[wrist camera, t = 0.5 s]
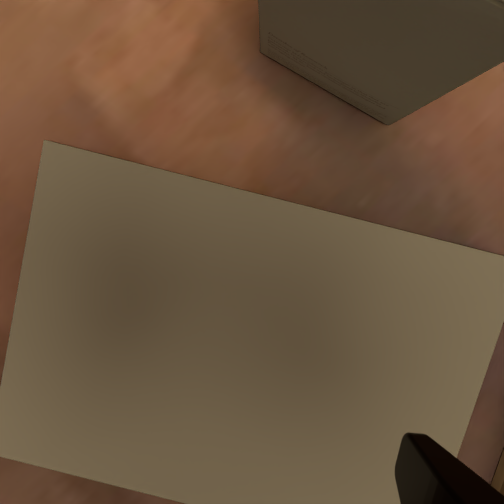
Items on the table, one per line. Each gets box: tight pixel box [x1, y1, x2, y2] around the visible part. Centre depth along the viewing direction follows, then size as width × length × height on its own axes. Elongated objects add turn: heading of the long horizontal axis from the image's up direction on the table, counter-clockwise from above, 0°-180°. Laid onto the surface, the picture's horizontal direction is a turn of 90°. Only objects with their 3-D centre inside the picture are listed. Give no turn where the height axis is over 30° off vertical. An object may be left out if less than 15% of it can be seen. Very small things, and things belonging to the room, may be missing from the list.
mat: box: [0, 140, 504, 504], centre depth 23 cm, size 17×24×1 cm
